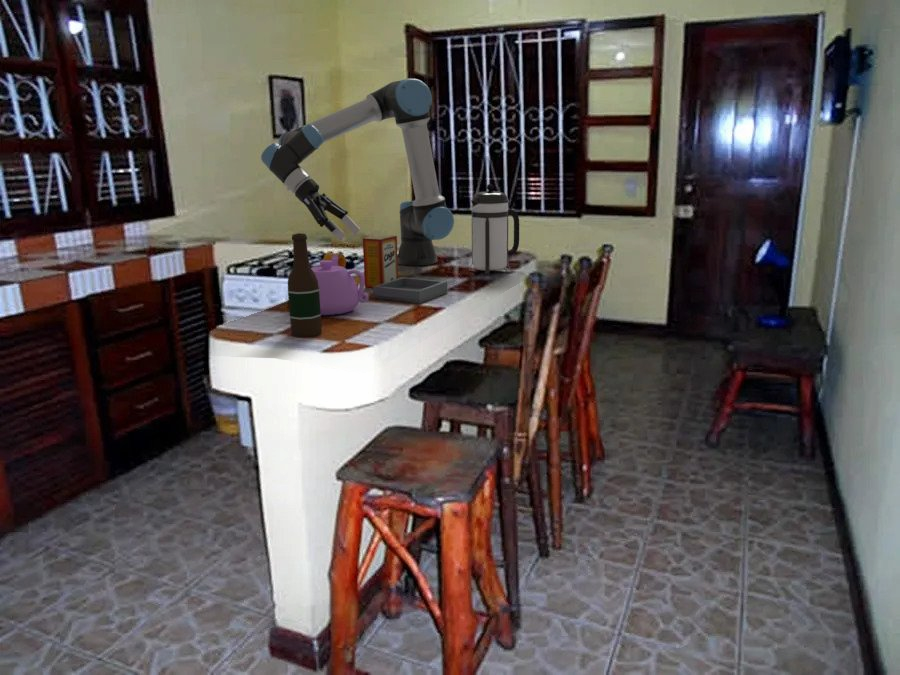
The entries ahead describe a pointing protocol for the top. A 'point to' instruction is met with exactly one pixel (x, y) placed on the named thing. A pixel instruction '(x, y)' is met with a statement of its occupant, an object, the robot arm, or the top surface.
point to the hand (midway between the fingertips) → (350, 234)
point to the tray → (410, 290)
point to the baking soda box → (380, 259)
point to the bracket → (340, 260)
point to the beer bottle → (303, 292)
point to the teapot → (338, 288)
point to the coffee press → (492, 231)
